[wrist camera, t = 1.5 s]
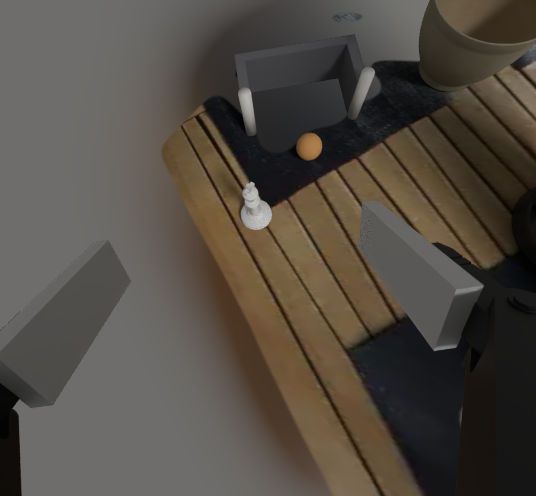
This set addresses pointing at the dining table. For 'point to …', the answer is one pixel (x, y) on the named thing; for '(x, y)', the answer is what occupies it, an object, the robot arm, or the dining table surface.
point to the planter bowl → (473, 39)
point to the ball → (309, 146)
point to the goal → (304, 72)
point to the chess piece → (254, 209)
